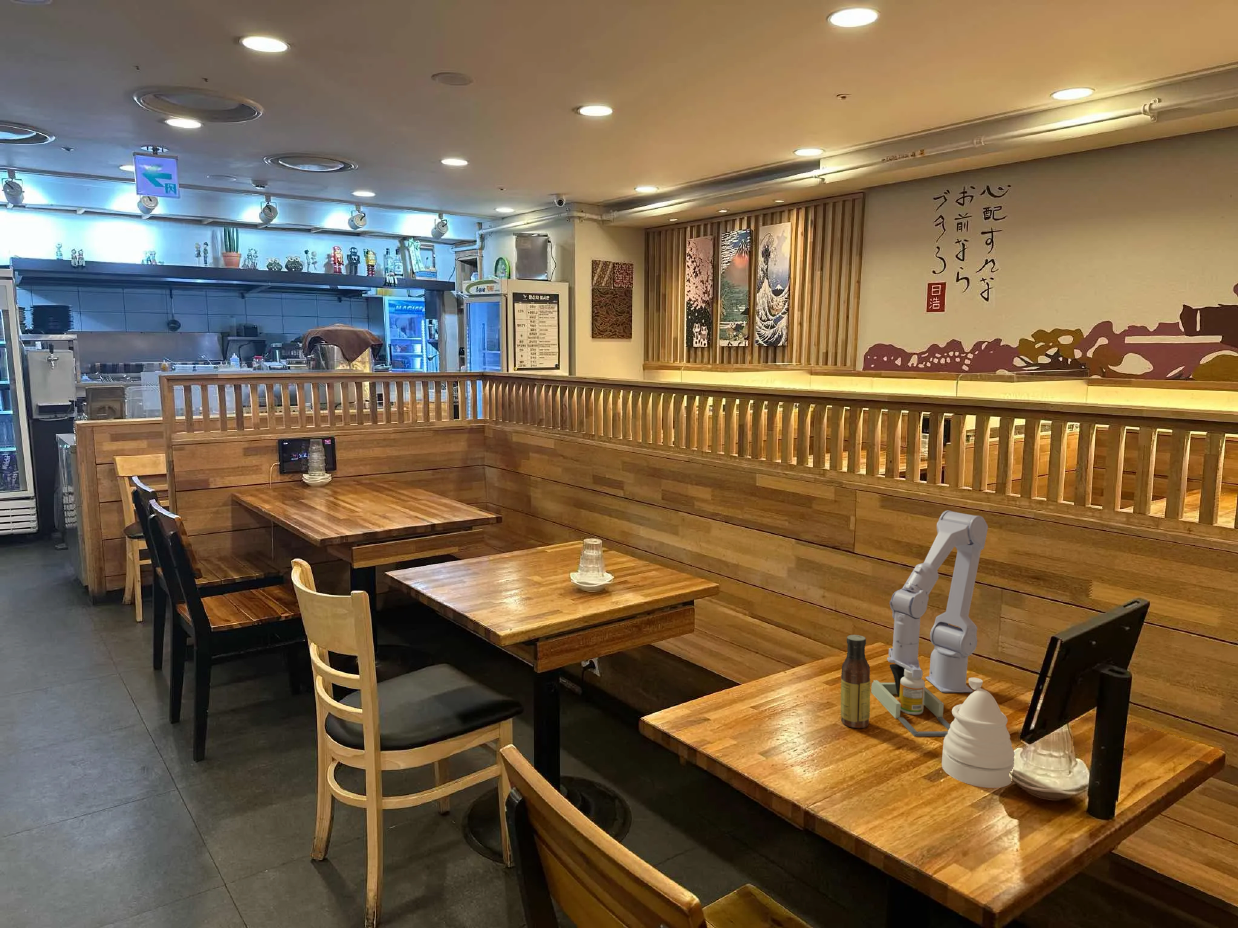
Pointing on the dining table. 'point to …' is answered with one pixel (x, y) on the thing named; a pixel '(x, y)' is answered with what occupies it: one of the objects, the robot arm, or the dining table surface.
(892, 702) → the pale green open frame
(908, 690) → the supplement bottle
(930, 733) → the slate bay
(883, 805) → the dining table surface
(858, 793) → the dining table surface
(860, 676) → the sauce bottle
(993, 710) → the honey pot
